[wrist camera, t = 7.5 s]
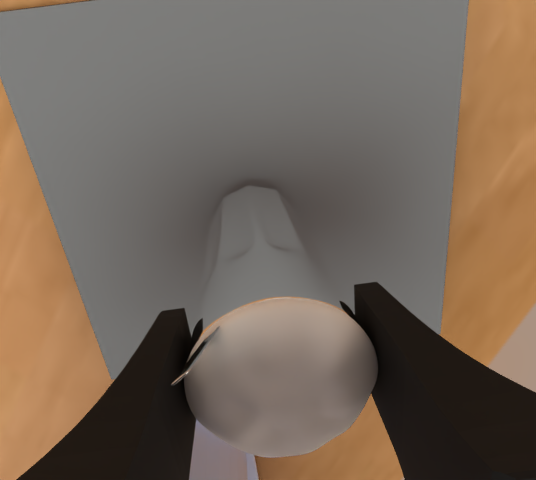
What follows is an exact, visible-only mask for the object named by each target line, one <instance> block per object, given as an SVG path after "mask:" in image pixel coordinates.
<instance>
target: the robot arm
mask: <svg viewBox="0 0 536 480" xmlns="http://www.w3.org/2000/svg"><path fill="white" fill-rule="evenodd" d="M354 305H355V316H356V318H357V320H358V321H359V323H360V325H361V326H362V328H363V330H364V331H365V333H366V334H367V336H368V337H369V339H370V340H371V342H372V344H373V346H374V349H375V352H376V355H377V360H378V375H377V379H376V382H375V385H374V387H373V390H372V392H371V394H372V396H373V399H374V401H375V404H376V406H377V408H378V411H379V413H380V416H381V418H382V420H383V423H384V425H385V428H386V430H387V432H388V435H389V437H390V440H391V442H392V444H393V447H394V449H395V452H396V455H397V457H398V460H399V463H400V466H401V469H402V472H403V475H404V478H405V480H536V393H535V392H533V391H531V390H529V389H527V388H525V387H523V386H521V385H519V384H517V383H515V382H514V381H512V380H510V379H508V378H506V377H504V376H502V375H500V374H498V373H497V372H495V371H493V370H491V369H489V368H488V367H486V366H485V365H483V364H481V363H480V362H478V361H476V360H475V359H473V358H471V357H470V356H468V355H467V354H465V353H464V352H462V351H461V350H459V349H458V348H456V347H455V346H453V345H452V344H451V343H449V342H448V341H446V340H445V339H444V338H442V337H441V336H440V335H438V334H437V333H436V332H434V331H433V330H432V329H431V328H429V327H428V326H427V325H426V324H425V323H423V322H422V321H421V320H420V319H418V318H417V317H416V316H415V315H414V314H412V313H411V312H410V311H409V310H408V309H407V308H406V307H404V306H403V305H402V304H401V303H400V302H399V301H398V300H397V299H396V298H394V297H393V296H392V295H391V294H390V293H389V292H388V291H387V290H386V289H385V288H384V287H383V286H381V285H380V284H379V283H378V282H370V283H363V284H355V285H354ZM191 338H192V337H191V333H190V329H189V325H188V321H187V317H186V312H185V308H179V309H172V310H164V311H161V312H160V313H159V315H158V316H157V318H156V319H155V321H154V323H153V324H152V326H151V328H150V329H149V331H148V332H147V334H146V336H145V337H144V339H143V340H142V342H141V343H140V345H139V346H138V348H137V349H136V351H135V352H134V354H133V355H132V357H131V358H130V360H129V361H128V363H127V364H126V366H125V367H124V368H123V370H122V371H121V372H120V374H119V375H118V376H117V378H116V379H115V380H114V382H113V383H112V384H111V386H110V387H109V388H108V389H107V391H106V392H105V393H104V395H103V396H102V397H101V398H100V399H99V401H98V402H97V403H96V404H95V405H94V406H93V408H92V409H91V410H90V411H89V412H88V413H87V414H86V415H85V417H84V418H83V419H82V420H81V421H80V422H79V423H78V424H77V425H76V426H75V427H74V428H73V429H72V430H71V431H70V432H69V433H68V434H67V435H66V436H65V437H64V438H63V439H62V440H61V441H60V442H59V443H58V444H56V445H55V446H54V447H53V448H52V449H51V450H50V451H49V452H48V453H47V454H46V455H45V456H44V457H43V458H41V459H40V460H39V461H38V462H37V463H36V464H35V465H33V466H32V467H31V468H30V469H29V470H27V471H26V472H25V473H24V474H23V475H21V476H20V477H19V478H18V479H16V480H259V477H258V471H257V466H256V461H255V456H254V455H252V454H249V453H246V452H244V451H241V450H239V449H237V448H235V447H233V446H231V445H229V444H228V443H226V442H224V441H223V440H221V439H220V438H218V437H217V436H216V435H214V434H213V433H211V432H210V431H209V430H208V429H206V428H205V427H204V426H203V425H202V424H201V423H200V422H199V421H198V420H197V419H196V418H195V416H194V415H193V413H192V411H191V409H190V407H189V404H188V402H187V398H186V394H185V388H184V378H182V379H181V380H180V381H179V382H177V383H176V384H175V385H173V386H172V385H171V384H172V382H173V381H174V379H175V378H176V377H177V375H178V374H179V373H180V371H181V370H182V368H183V367H184V366H185V364H186V363H187V358H188V353H189V348H190V343H191Z"/></svg>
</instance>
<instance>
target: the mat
mask: <svg viewBox="0 0 536 480" xmlns="http://www.w3.org/2000/svg"><path fill="white" fill-rule="evenodd" d="M468 3H469V0H90V1H82V2H74V3H66V4H58V5H50V6H42V7H34V8H26V9H18V10H10V11H2V12H0V77H1V80H2V83H3V86H4V88H5V91H6V94H7V96H8V99H9V102H10V105H11V107H12V110H13V113H14V115H15V118H16V121H17V124H18V126H19V129H20V132H21V134H22V137H23V140H24V143H25V145H26V148H27V151H28V154H29V156H30V159H31V162H32V164H33V167H34V170H35V173H36V175H37V178H38V181H39V183H40V186H41V189H42V192H43V194H44V197H45V200H46V202H47V205H48V208H49V211H50V213H51V216H52V219H53V222H54V224H55V227H56V230H57V232H58V235H59V238H60V241H61V243H62V246H63V249H64V251H65V254H66V257H67V260H68V262H69V265H70V268H71V270H72V273H73V276H74V279H75V281H76V284H77V287H78V290H79V292H80V295H81V298H82V300H83V303H84V306H85V309H86V311H87V314H88V317H89V319H90V322H91V325H92V328H93V330H94V333H95V336H96V338H97V341H98V344H99V347H100V349H101V352H102V355H103V358H104V360H105V363H106V366H107V368H108V371H109V374H110V377H111V379H116V378H117V376H118V375H119V374H120V372H121V371H122V370H123V368H124V367H125V366H126V364H127V363H128V361H129V360H130V358H131V357H132V355H133V354H134V352H135V351H136V349H137V348H138V346H139V345H140V343H141V342H142V340H143V339H144V337H145V336H146V334H147V332H148V331H149V329H150V328H151V326H152V324H153V323H154V321H155V319H156V318H157V316H158V315H159V313H160V312H161V311H164V310H172V309H179V308H185V312H186V317H187V321H188V325H189V329H190V333H191V337H192V333H193V328H194V323H195V318H196V313H197V308H198V302H199V296H200V289H201V282H202V275H203V268H204V261H205V255H206V248H207V242H208V235H209V228H210V222H211V219H212V217H213V215H214V214H215V212H216V210H217V208H218V206H219V205H220V203H221V201H222V199H223V197H225V196H227V195H229V194H231V193H233V192H236V191H238V190H240V189H242V188H244V187H246V186H248V185H250V186H257V187H263V188H270V189H276V190H277V191H278V192H279V193H280V194H281V195H282V196H283V197H284V198H285V199H286V200H287V201H288V202H289V203H290V204H291V205H292V206H293V207H294V208H295V209H296V211H297V213H298V215H299V216H300V218H301V220H302V222H303V224H304V226H305V228H306V229H307V231H308V233H309V235H310V237H311V239H312V241H313V242H314V244H315V246H316V248H317V250H318V252H319V254H320V255H321V257H322V259H323V261H324V263H325V265H326V267H327V269H328V270H329V272H330V274H331V276H332V278H333V280H334V281H335V283H336V285H337V286H338V288H339V290H340V291H341V293H342V295H343V296H344V298H345V300H346V301H347V303H348V305H349V306H350V308H351V310H352V311H353V313H354V315H355V305H354V285H355V284H363V283H370V282H378V283H379V284H380V285H381V286H383V287H384V288H385V289H386V290H387V291H388V292H389V293H390V294H391V295H392V296H393V297H394V298H396V299H397V300H398V301H399V302H400V303H401V304H402V305H403V306H404V307H406V308H407V309H408V310H409V311H410V312H411V313H412V314H414V315H415V316H416V317H417V318H418V319H420V320H421V321H422V322H423V323H425V324H426V325H427V326H428V327H429V328H431V329H432V330H433V331H434V332H436V333H437V334H440V332H441V320H442V308H443V296H444V285H445V273H446V261H447V249H448V238H449V226H450V214H451V202H452V191H453V179H454V167H455V155H456V144H457V132H458V120H459V108H460V97H461V85H462V73H463V61H464V50H465V38H466V26H467V14H468Z"/></svg>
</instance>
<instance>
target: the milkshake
mask: <svg viewBox="0 0 536 480" xmlns="http://www.w3.org/2000/svg"><path fill="white" fill-rule="evenodd" d="M377 375H378V360H377V355H376V352H375V349H374V346H373V344H372V342H371V340H370V339H369V337H368V336H367V334H366V333H365V331H364V330H363V328H362V326H361V325H360V323H359V321H358V320H357V318H356V316H355V315H354V313H353V311H352V310H351V308H350V306H349V305H348V303H347V301H346V300H345V298H344V296H343V295H342V293H341V291H340V290H339V288H338V286H337V285H336V283H335V281H334V280H333V278H332V276H331V274H330V272H329V270H328V269H327V267H326V265H325V263H324V261H323V259H322V257H321V255H320V254H319V252H318V250H317V248H316V246H315V244H314V242H313V241H312V239H311V237H310V235H309V233H308V231H307V229H306V228H305V226H304V224H303V222H302V220H301V218H300V216H299V215H298V213H297V211H296V209H295V208H294V207H293V206H292V205H291V204H290V203H289V202H288V201H287V200H286V199H285V198H284V197H283V196H282V195H281V194H280V193H279V192H278V191H277V190H276V189H270V188H263V187H257V186H250V185H248V186H246V187H244V188H242V189H240V190H238V191H236V192H233V193H231V194H229V195H227V196H225V197H223V199H222V201H221V203H220V205H219V206H218V208H217V210H216V212H215V214H214V215H213V217H212V219H211V222H210V228H209V235H208V242H207V248H206V255H205V261H204V268H203V275H202V282H201V289H200V296H199V302H198V308H197V313H196V318H195V323H194V328H193V333H192V338H191V343H190V348H189V353H188V358H187V363H186V364H185V366H184V367H183V368H182V370H181V371H180V373H179V374H178V375H177V377H176V378H175V379H174V381H173V382H172V384H171V385H172V386H173V385H175V384H176V383H177V382H179V381H180V380H181V379H182V378H184V388H185V394H186V398H187V402H188V404H189V407H190V409H191V411H192V413H193V415H194V416H195V418H196V419H197V420H198V421H199V422H200V423H201V424H202V425H203V426H204V427H205V428H206V429H208V430H209V431H210V432H211V433H213V434H214V435H216V436H217V437H218V438H220V439H221V440H223V441H224V442H226V443H228V444H229V445H231V446H233V447H235V448H237V449H239V450H241V451H244V452H246V453H249V454H252V455H256V456H260V457H268V458H276V457H286V456H297V455H303V454H307V453H310V452H313V451H315V450H317V449H318V448H320V447H321V446H323V445H324V444H326V443H327V442H329V441H330V440H332V439H333V438H335V437H337V436H339V435H340V434H342V433H344V432H345V431H346V430H347V429H349V428H350V427H351V425H352V424H353V423H354V422H355V420H356V419H357V417H358V416H359V414H360V413H361V411H362V409H363V408H364V406H365V404H366V402H367V400H368V398H369V396H370V394H371V392H372V390H373V387H374V385H375V382H376V379H377Z"/></svg>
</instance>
